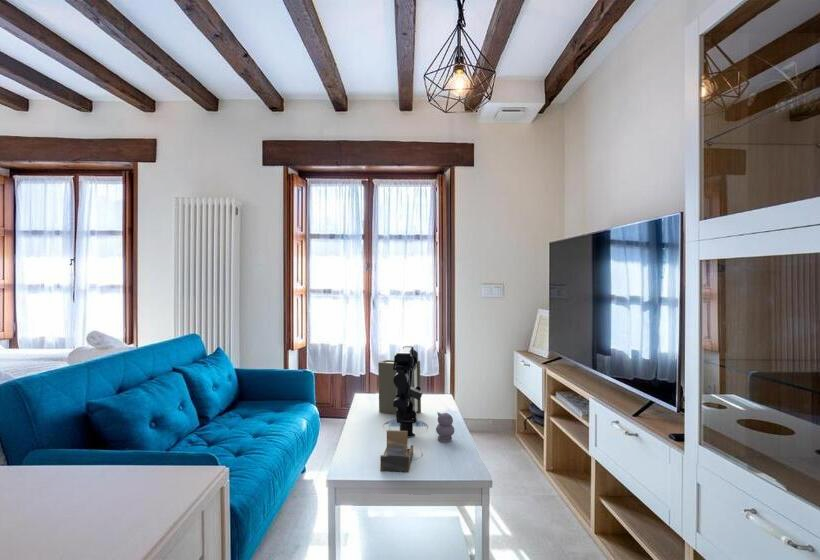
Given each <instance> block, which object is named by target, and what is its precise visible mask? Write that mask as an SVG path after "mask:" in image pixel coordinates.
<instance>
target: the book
mask: <svg viewBox="0 0 820 560" xmlns="http://www.w3.org/2000/svg"><path fill="white" fill-rule="evenodd" d="M377 366H378V369H377V370H378V371H377V372H378V412H379V413H385V414H393V415H396V411H397V409H398V408H397V407H393V401H394V400H395V399H396V398H399V397H396V394H397V388H396V385H395V384H394V382H393V379H394V377H395V375H396V373H397V370H393V366H394V359H393V360H392V359H383V360H380V361H378V365H377ZM417 386H420V387H422V386H421V360H418V364H417V367H416V369H415V371H414V372H413V380H412V387H417ZM411 402H412V404H413V406H414V410H415V413H416V414H421V413H422V403H421V402H422V398H421V399H420V400H417V399H415V398H413V397H411Z"/></svg>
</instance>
